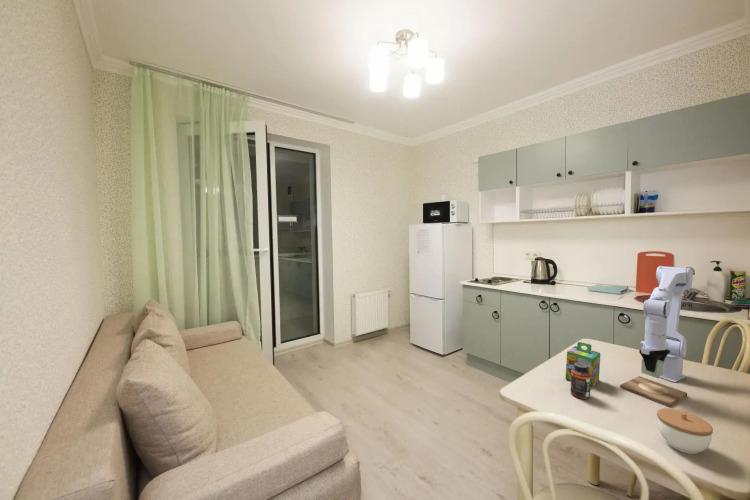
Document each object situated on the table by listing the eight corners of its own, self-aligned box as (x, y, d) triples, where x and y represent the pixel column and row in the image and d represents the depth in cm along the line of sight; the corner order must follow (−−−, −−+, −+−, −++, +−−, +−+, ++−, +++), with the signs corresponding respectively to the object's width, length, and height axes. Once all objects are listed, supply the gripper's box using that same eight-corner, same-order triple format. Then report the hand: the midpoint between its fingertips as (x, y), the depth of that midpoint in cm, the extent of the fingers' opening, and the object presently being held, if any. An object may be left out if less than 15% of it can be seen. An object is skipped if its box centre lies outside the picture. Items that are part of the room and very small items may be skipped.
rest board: (639, 379, 121) (639, 375, 120) (687, 396, 108) (687, 392, 108) (620, 387, 114) (620, 384, 114) (668, 407, 102) (669, 403, 102)
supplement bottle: (593, 400, 106) (594, 369, 106) (574, 399, 108) (575, 368, 107) (585, 391, 112) (586, 361, 111) (567, 390, 113) (568, 360, 113)
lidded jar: (645, 434, 89) (646, 403, 88) (679, 431, 90) (680, 401, 89) (685, 462, 78) (687, 427, 78) (723, 459, 79) (725, 424, 78)
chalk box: (565, 379, 121) (565, 343, 120) (573, 372, 127) (574, 337, 126) (592, 388, 114) (593, 350, 113) (600, 380, 120) (601, 344, 119)
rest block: (647, 370, 114) (647, 356, 114) (662, 374, 110) (663, 361, 110) (641, 372, 112) (641, 359, 112) (656, 377, 108) (657, 364, 108)
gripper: (651, 326, 116) (649, 361, 117) (631, 332, 110) (630, 369, 111) (675, 331, 110) (674, 368, 111) (656, 339, 104) (654, 377, 105)
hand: (653, 369), depth 111 cm, fingers closed on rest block, 4 cm apart
